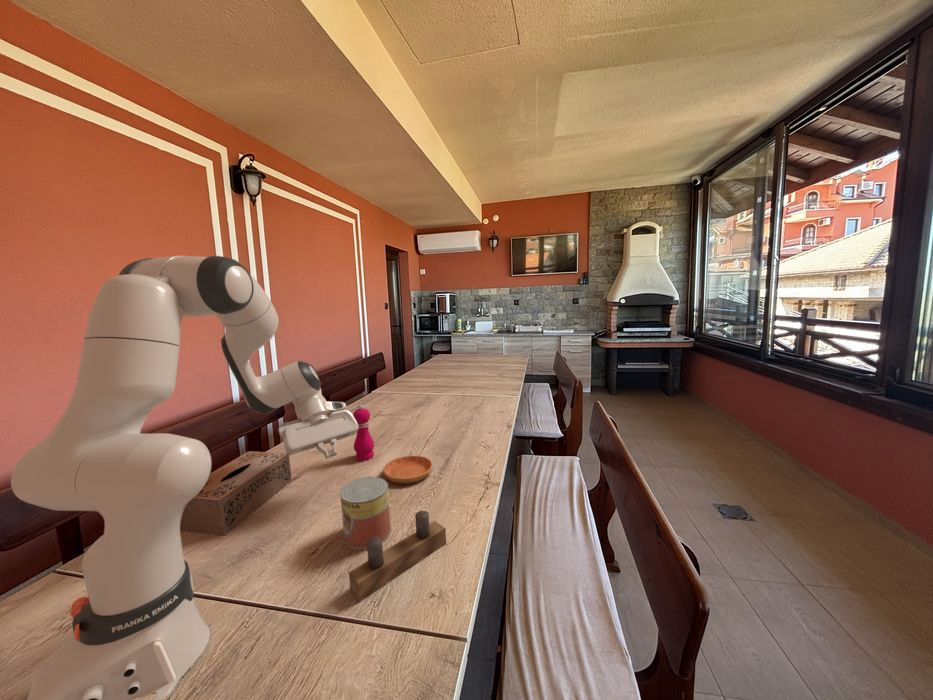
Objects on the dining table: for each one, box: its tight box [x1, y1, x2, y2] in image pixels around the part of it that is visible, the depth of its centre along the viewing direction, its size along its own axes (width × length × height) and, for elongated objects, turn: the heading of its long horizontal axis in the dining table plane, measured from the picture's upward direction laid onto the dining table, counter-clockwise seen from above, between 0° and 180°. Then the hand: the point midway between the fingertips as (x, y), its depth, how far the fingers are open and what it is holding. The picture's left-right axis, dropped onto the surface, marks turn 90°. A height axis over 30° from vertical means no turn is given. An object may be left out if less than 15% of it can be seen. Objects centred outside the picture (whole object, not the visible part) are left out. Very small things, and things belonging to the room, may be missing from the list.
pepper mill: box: [352, 404, 375, 462], centre depth 127 cm, size 7×7×20 cm
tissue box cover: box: [180, 450, 293, 536], centre depth 101 cm, size 26×14×10 cm, turn 170°
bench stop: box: [348, 510, 447, 602], centre depth 76 cm, size 22×4×9 cm, turn 134°
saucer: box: [383, 455, 433, 485], centre depth 116 cm, size 16×16×3 cm
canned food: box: [339, 476, 392, 550], centre depth 86 cm, size 11×11×12 cm
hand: (331, 456), depth 98 cm, fingers closed
